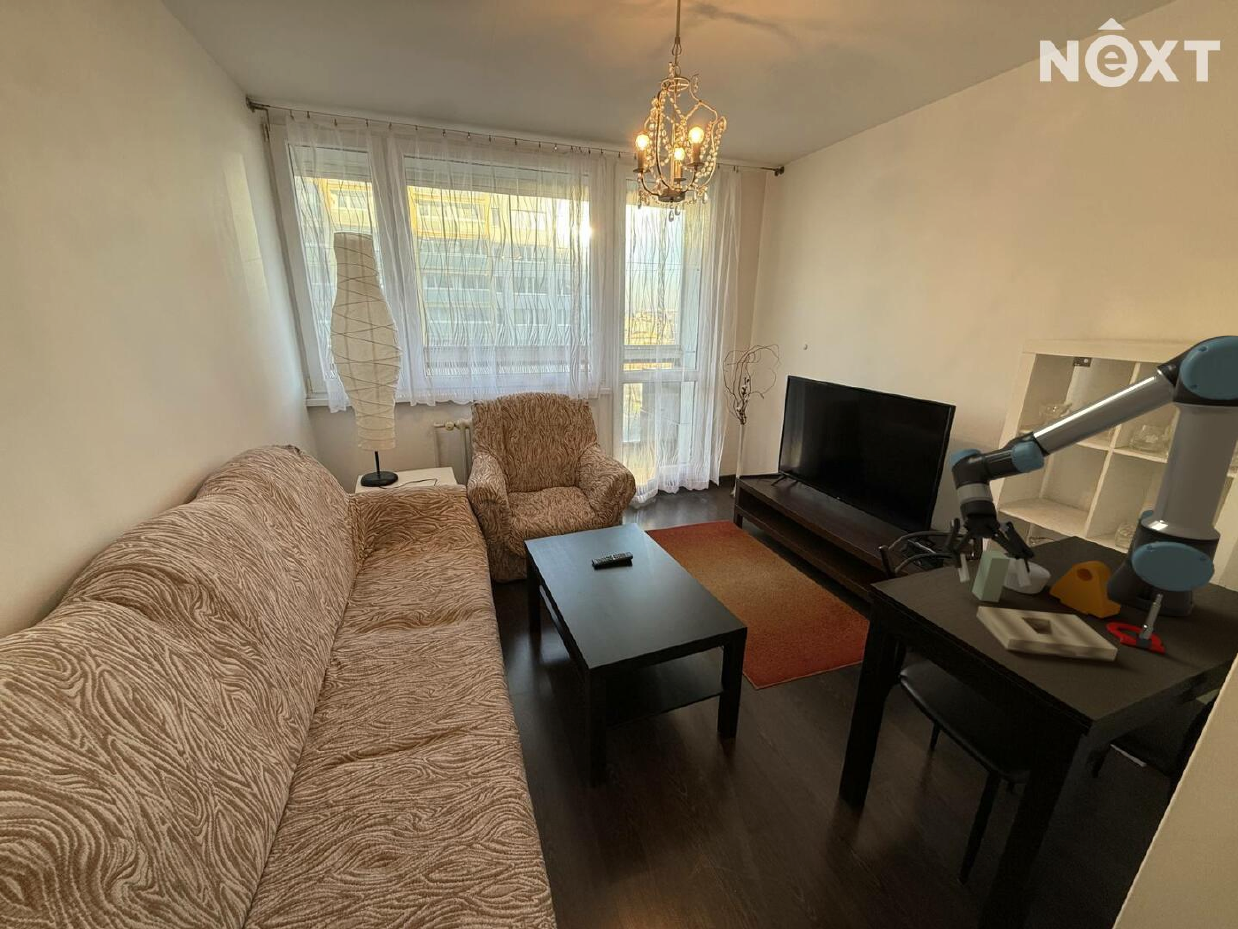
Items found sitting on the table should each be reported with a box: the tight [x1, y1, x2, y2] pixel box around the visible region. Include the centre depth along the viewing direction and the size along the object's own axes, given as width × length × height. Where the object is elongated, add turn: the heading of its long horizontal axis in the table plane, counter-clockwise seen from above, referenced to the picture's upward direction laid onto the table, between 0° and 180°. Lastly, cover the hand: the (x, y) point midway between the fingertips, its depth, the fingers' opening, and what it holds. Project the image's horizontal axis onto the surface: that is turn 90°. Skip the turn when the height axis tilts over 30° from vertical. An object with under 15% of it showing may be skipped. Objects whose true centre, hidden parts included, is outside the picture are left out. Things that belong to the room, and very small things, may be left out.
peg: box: [972, 549, 1011, 603], centre depth 120 cm, size 4×4×12 cm
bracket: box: [1049, 560, 1122, 619], centre depth 117 cm, size 11×7×12 cm, turn 18°
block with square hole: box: [975, 605, 1119, 663], centre depth 106 cm, size 20×12×3 cm, turn 81°
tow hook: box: [1106, 594, 1166, 654], centre depth 105 cm, size 8×13×9 cm
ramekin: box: [1003, 557, 1052, 595], centre depth 127 cm, size 11×11×5 cm
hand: (995, 583), depth 118 cm, fingers open, 13 cm apart
